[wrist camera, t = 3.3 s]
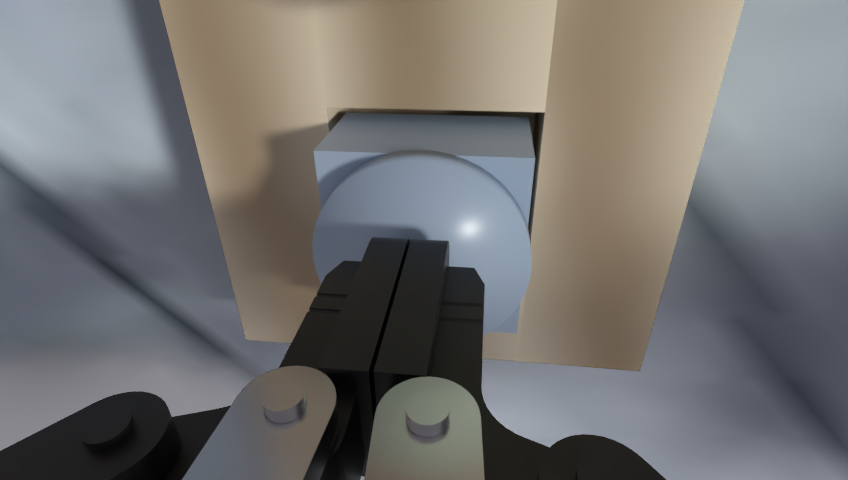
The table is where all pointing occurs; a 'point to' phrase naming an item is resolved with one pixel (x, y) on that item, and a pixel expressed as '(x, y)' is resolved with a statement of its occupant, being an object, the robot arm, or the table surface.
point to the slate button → (432, 196)
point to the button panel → (466, 96)
